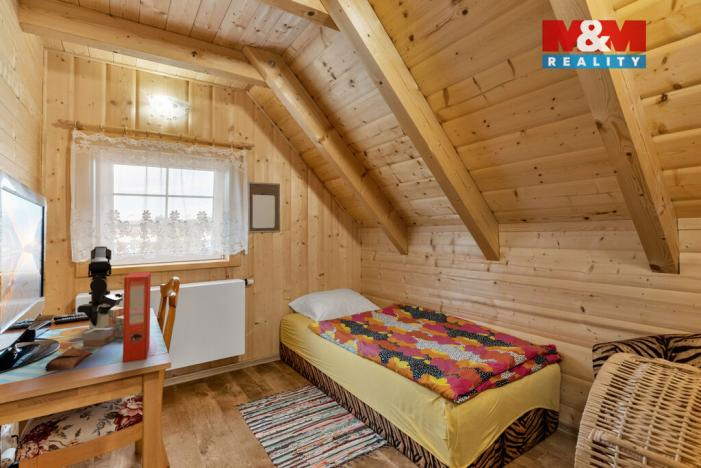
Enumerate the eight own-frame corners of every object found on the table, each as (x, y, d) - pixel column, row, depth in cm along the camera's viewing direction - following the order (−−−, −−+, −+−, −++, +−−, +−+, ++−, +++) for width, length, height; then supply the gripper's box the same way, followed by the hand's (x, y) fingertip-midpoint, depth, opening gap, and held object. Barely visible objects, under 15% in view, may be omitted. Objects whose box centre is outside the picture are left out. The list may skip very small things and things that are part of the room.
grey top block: (95, 334, 157) (95, 327, 157) (113, 334, 158) (113, 327, 158) (82, 340, 149) (82, 333, 149) (101, 339, 150) (101, 332, 150)
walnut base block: (96, 341, 157) (96, 334, 157) (114, 341, 158) (114, 334, 158) (83, 347, 149) (83, 340, 149) (102, 346, 150) (102, 339, 150)
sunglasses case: (73, 369, 124) (62, 353, 123) (53, 381, 123) (41, 365, 122) (94, 352, 142) (84, 339, 141) (76, 362, 140) (66, 349, 139)
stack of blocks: (137, 335, 165) (137, 309, 165) (123, 339, 160) (123, 312, 160) (111, 329, 175) (111, 305, 175) (97, 332, 170) (97, 307, 169)
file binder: (150, 346, 150) (150, 271, 150) (147, 359, 135) (147, 276, 134) (128, 348, 146) (128, 272, 146) (122, 362, 131) (123, 277, 131)
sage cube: (97, 325, 156) (97, 314, 156) (108, 325, 156) (108, 314, 156) (89, 328, 151) (89, 316, 151) (101, 328, 151) (101, 316, 151)
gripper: (103, 292, 145) (103, 330, 145) (130, 285, 163) (130, 319, 163) (76, 292, 144) (76, 330, 144) (106, 285, 163) (106, 318, 163)
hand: (99, 324), depth 154 cm, fingers closed on sage cube, 5 cm apart
